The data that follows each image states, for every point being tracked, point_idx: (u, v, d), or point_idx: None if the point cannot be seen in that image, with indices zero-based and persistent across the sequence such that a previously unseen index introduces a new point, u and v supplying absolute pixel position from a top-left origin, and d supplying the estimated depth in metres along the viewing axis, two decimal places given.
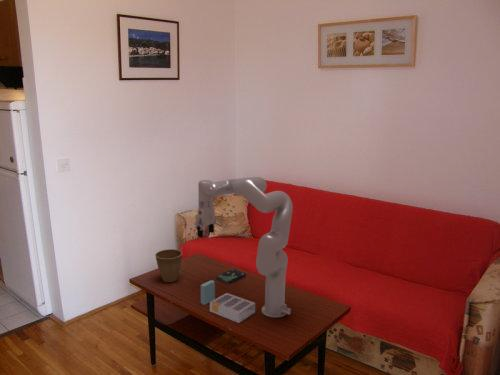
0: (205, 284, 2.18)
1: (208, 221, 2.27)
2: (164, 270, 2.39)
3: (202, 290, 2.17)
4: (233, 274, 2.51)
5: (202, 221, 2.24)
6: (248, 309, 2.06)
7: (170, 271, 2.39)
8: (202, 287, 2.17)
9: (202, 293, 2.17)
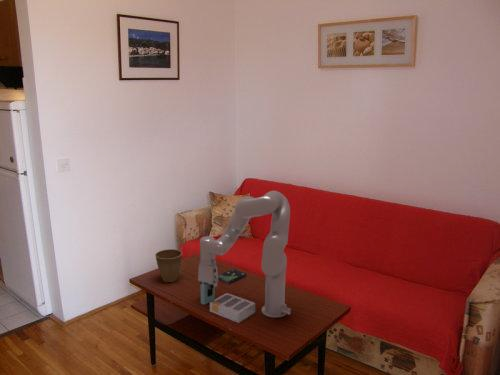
0: (205, 284, 2.18)
1: None
2: (164, 270, 2.39)
3: (202, 290, 2.17)
4: (233, 274, 2.51)
5: (217, 277, 2.17)
6: (248, 309, 2.06)
7: (170, 271, 2.39)
8: (202, 287, 2.17)
9: (202, 293, 2.17)
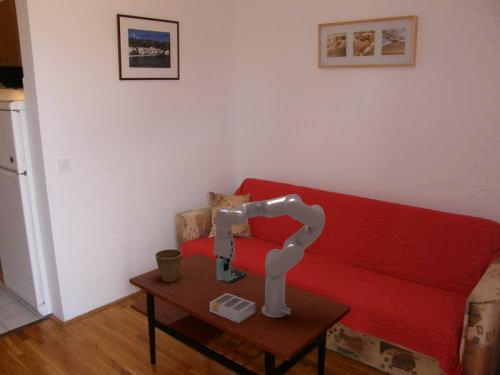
0: (221, 259, 2.07)
1: None
2: (164, 270, 2.39)
3: (218, 265, 2.06)
4: (233, 274, 2.51)
5: (234, 251, 2.06)
6: (248, 309, 2.06)
7: (170, 271, 2.39)
8: (218, 262, 2.06)
9: (218, 268, 2.06)
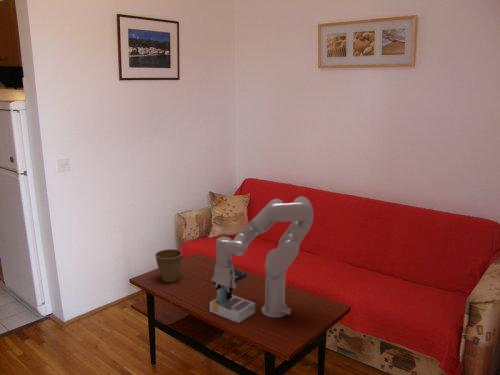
0: (221, 289, 2.10)
1: None
2: (164, 270, 2.39)
3: (218, 295, 2.09)
4: (234, 274, 2.51)
5: (234, 279, 2.09)
6: (248, 309, 2.06)
7: (170, 271, 2.39)
8: (218, 292, 2.09)
9: (218, 298, 2.10)
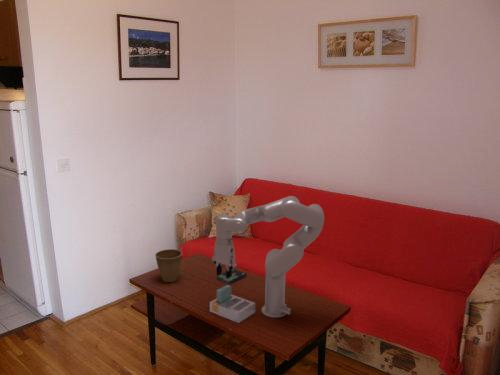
0: (221, 289, 2.10)
1: None
2: (164, 270, 2.39)
3: (218, 295, 2.09)
4: (234, 274, 2.51)
5: (234, 258, 2.07)
6: (248, 309, 2.06)
7: (170, 271, 2.39)
8: (218, 292, 2.09)
9: (218, 298, 2.10)
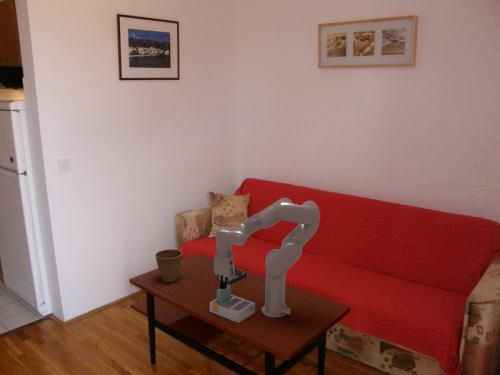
0: (221, 289, 2.11)
1: None
2: (164, 270, 2.39)
3: (218, 295, 2.09)
4: (234, 274, 2.51)
5: (233, 270, 2.08)
6: (248, 309, 2.06)
7: (170, 271, 2.39)
8: (218, 292, 2.09)
9: (218, 298, 2.10)
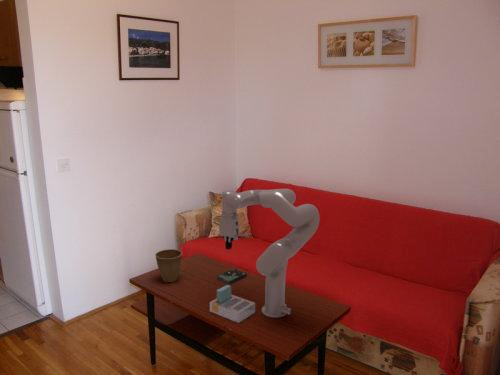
0: (221, 289, 2.10)
1: None
2: (164, 270, 2.39)
3: (218, 295, 2.09)
4: (234, 274, 2.51)
5: (238, 231, 2.19)
6: (248, 309, 2.06)
7: (170, 271, 2.39)
8: (218, 292, 2.09)
9: (218, 298, 2.10)
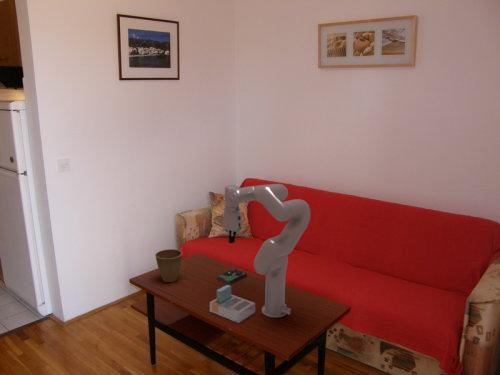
0: (221, 289, 2.10)
1: None
2: (164, 270, 2.39)
3: (218, 295, 2.09)
4: (234, 274, 2.51)
5: (241, 225, 2.26)
6: (248, 309, 2.06)
7: (170, 271, 2.39)
8: (218, 292, 2.09)
9: (218, 298, 2.10)
